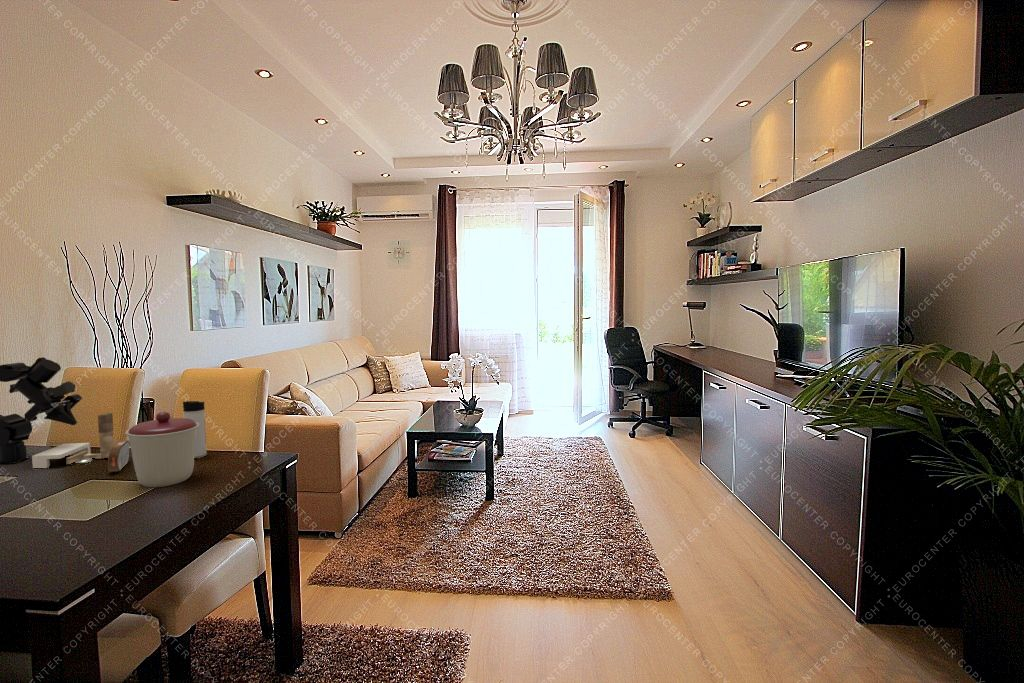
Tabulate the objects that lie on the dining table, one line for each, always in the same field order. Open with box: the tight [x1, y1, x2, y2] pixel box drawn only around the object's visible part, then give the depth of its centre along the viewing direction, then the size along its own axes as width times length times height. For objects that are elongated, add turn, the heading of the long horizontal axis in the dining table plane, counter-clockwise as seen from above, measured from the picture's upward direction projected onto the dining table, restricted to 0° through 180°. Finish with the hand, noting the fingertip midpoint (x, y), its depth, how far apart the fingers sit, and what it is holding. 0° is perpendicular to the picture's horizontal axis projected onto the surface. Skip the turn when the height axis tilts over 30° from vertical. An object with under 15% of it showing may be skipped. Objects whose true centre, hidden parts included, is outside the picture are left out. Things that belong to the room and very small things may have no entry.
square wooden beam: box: [65, 412, 115, 465], centre depth 168 cm, size 9×9×15 cm
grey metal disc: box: [74, 458, 94, 464], centre depth 167 cm, size 4×4×1 cm
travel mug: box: [182, 400, 208, 458], centre depth 173 cm, size 6×7×20 cm
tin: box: [107, 439, 131, 473], centre depth 162 cm, size 15×3×8 cm, turn 25°
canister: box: [124, 411, 200, 488], centre depth 150 cm, size 18×18×21 cm
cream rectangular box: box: [31, 442, 92, 469], centre depth 168 cm, size 8×14×4 cm, turn 8°
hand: (75, 424), depth 170 cm, fingers closed
